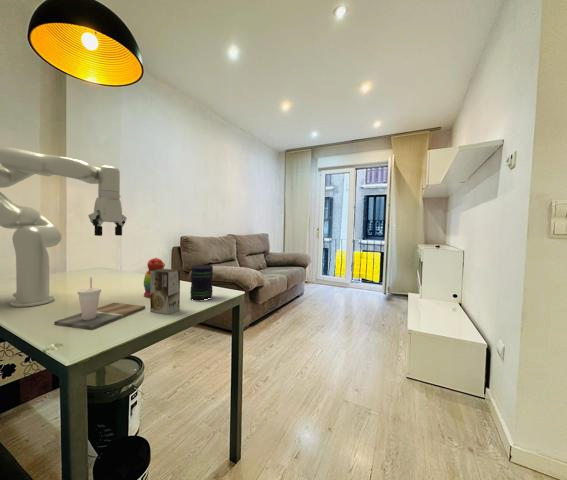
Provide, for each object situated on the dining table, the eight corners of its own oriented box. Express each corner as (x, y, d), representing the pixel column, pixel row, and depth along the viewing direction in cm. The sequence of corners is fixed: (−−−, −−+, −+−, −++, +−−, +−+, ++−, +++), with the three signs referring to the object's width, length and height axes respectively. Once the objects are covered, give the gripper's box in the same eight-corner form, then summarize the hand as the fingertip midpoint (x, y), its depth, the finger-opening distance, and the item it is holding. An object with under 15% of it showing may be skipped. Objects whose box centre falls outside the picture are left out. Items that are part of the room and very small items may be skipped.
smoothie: (87, 322, 80) (87, 279, 80) (72, 320, 82) (72, 278, 81) (105, 315, 86) (106, 276, 86) (90, 314, 88) (91, 274, 87)
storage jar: (216, 298, 116) (217, 266, 115) (197, 302, 108) (197, 268, 108) (205, 294, 122) (205, 264, 122) (186, 298, 115) (186, 266, 114)
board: (54, 324, 80) (54, 321, 80) (113, 305, 102) (113, 302, 102) (92, 329, 77) (92, 326, 77) (145, 308, 98) (145, 306, 98)
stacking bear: (162, 298, 113) (163, 259, 113) (139, 298, 112) (139, 259, 111) (170, 292, 124) (170, 257, 124) (148, 292, 123) (149, 256, 122)
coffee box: (180, 310, 98) (181, 269, 98) (168, 315, 92) (168, 272, 92) (162, 306, 101) (163, 267, 101) (149, 311, 95) (149, 270, 95)
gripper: (119, 198, 116) (118, 235, 116) (81, 192, 99) (81, 235, 99) (132, 198, 114) (132, 235, 115) (97, 192, 97) (97, 236, 98)
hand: (108, 235), depth 107 cm, fingers open, 9 cm apart
